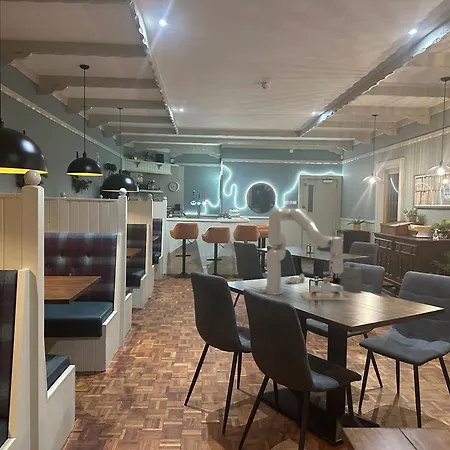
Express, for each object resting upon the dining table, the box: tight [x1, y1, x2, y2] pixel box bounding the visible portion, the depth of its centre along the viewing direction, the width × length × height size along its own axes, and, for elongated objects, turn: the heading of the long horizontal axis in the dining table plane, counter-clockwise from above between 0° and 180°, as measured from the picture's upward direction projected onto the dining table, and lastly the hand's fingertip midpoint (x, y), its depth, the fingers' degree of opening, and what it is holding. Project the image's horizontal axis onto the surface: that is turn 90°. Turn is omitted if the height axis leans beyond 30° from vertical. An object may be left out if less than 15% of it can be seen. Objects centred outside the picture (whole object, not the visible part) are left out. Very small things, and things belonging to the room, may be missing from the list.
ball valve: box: [299, 280, 352, 301], centre depth 289 cm, size 30×16×12 cm, turn 93°
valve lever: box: [322, 277, 344, 286], centre depth 285 cm, size 14×3×4 cm, turn 46°
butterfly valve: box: [284, 257, 305, 284], centre depth 342 cm, size 9×20×17 cm
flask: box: [342, 263, 363, 294], centre depth 312 cm, size 15×6×20 cm, turn 32°
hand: (335, 283), depth 279 cm, fingers closed
